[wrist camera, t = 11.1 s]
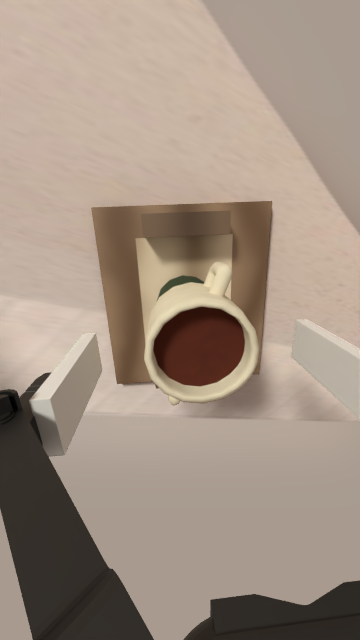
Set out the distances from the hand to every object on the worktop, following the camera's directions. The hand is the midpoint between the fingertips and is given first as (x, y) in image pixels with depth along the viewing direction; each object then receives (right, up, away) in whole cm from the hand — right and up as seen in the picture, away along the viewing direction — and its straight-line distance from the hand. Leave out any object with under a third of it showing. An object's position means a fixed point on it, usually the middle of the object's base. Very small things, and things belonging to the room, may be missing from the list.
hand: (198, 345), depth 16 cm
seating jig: (-1, +4, +12) cm, 13 cm away
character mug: (-1, +4, +11) cm, 12 cm away
